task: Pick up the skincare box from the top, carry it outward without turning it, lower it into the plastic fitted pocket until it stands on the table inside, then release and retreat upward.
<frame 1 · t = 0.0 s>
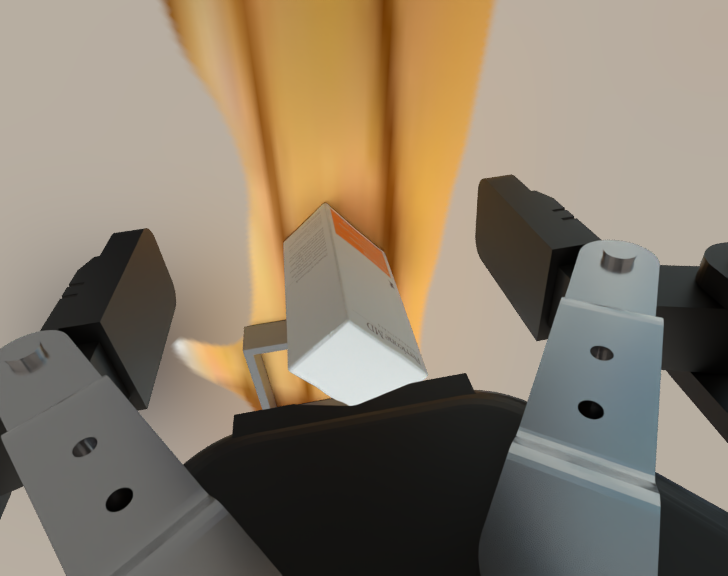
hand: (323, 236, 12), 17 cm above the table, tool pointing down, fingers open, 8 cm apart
skincare box: (334, 244, 32), on the table
fitted pocket: (313, 364, 39), on the table
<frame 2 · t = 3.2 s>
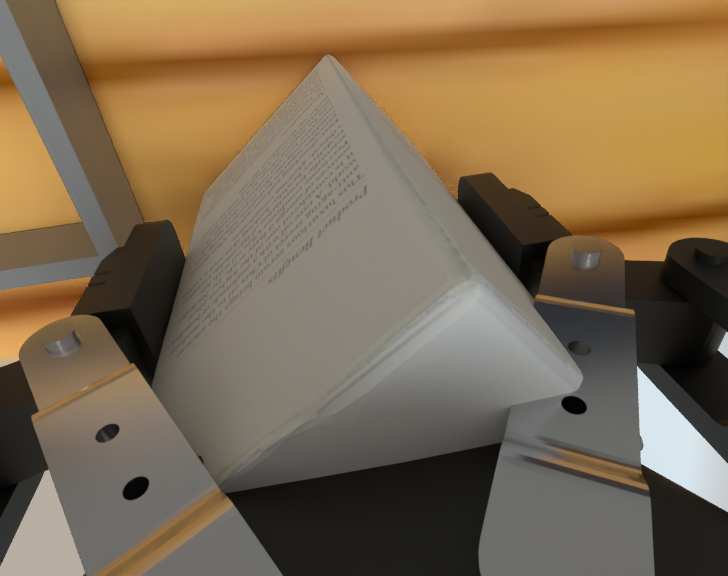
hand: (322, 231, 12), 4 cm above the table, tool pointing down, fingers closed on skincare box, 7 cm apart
skincare box: (312, 165, 16), on the table, touching gripper
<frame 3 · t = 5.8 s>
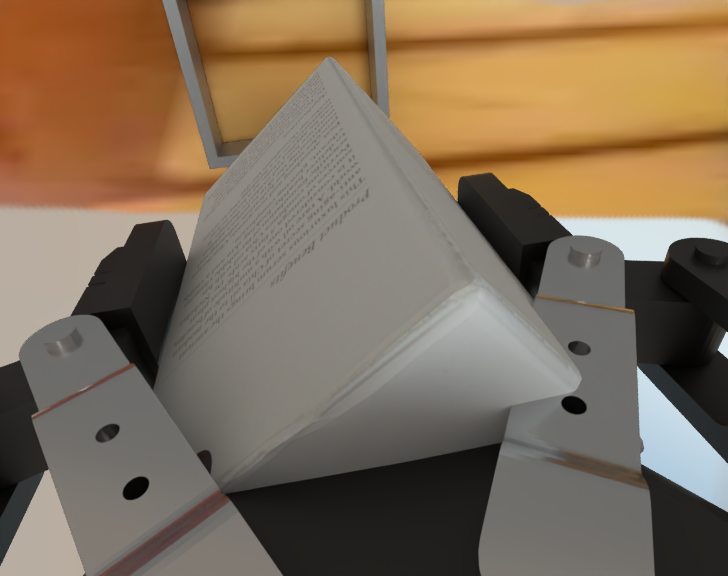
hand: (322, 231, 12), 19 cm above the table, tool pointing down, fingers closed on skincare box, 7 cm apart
skincare box: (313, 167, 16), point 14 cm above the table, touching gripper
fitted pocket: (288, 66, 26), on the table
when the fingers open (6 cm above the table, at t = 8.3 s): skincare box drops 1 cm, resting in fitted pocket.
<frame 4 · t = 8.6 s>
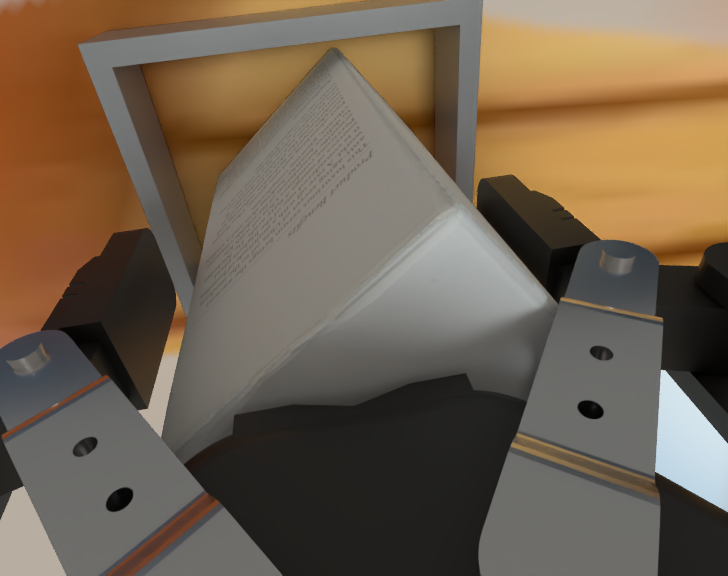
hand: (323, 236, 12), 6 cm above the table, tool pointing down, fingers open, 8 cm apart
skincare box: (318, 151, 17), resting in fitted pocket
fitted pocket: (308, 153, 17), on the table
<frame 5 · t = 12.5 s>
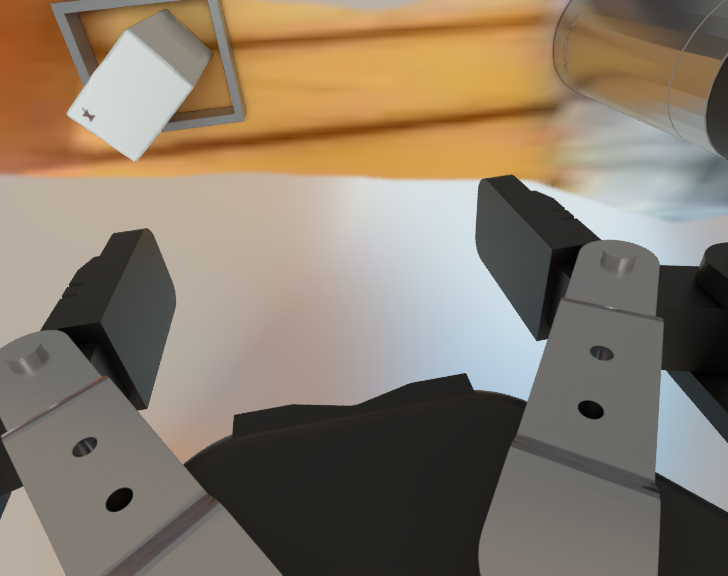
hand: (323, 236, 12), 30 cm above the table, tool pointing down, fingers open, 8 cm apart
skincare box: (168, 60, 36), resting in fitted pocket
fitted pocket: (162, 61, 35), on the table
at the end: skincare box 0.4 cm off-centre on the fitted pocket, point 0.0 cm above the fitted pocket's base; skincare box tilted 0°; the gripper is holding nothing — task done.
